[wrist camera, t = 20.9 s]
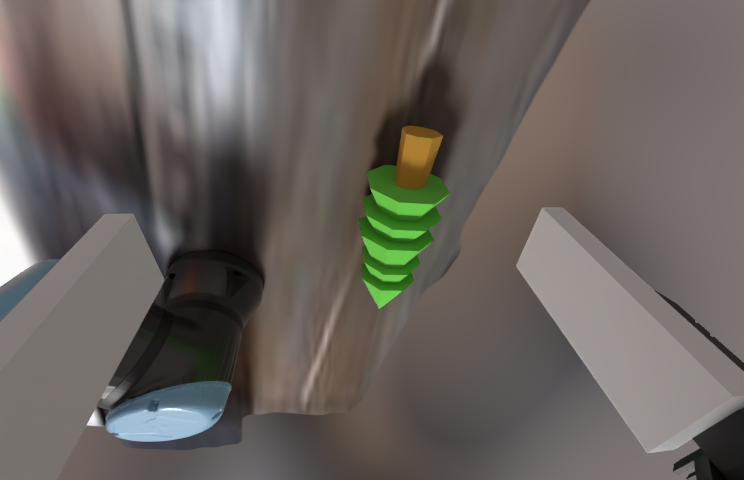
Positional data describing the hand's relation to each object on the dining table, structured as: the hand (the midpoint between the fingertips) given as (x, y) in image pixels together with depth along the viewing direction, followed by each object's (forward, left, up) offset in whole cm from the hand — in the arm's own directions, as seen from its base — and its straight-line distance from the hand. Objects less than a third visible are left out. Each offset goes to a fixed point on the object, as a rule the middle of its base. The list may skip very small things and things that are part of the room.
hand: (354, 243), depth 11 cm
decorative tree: (+8, -20, -33) cm, 40 cm away
